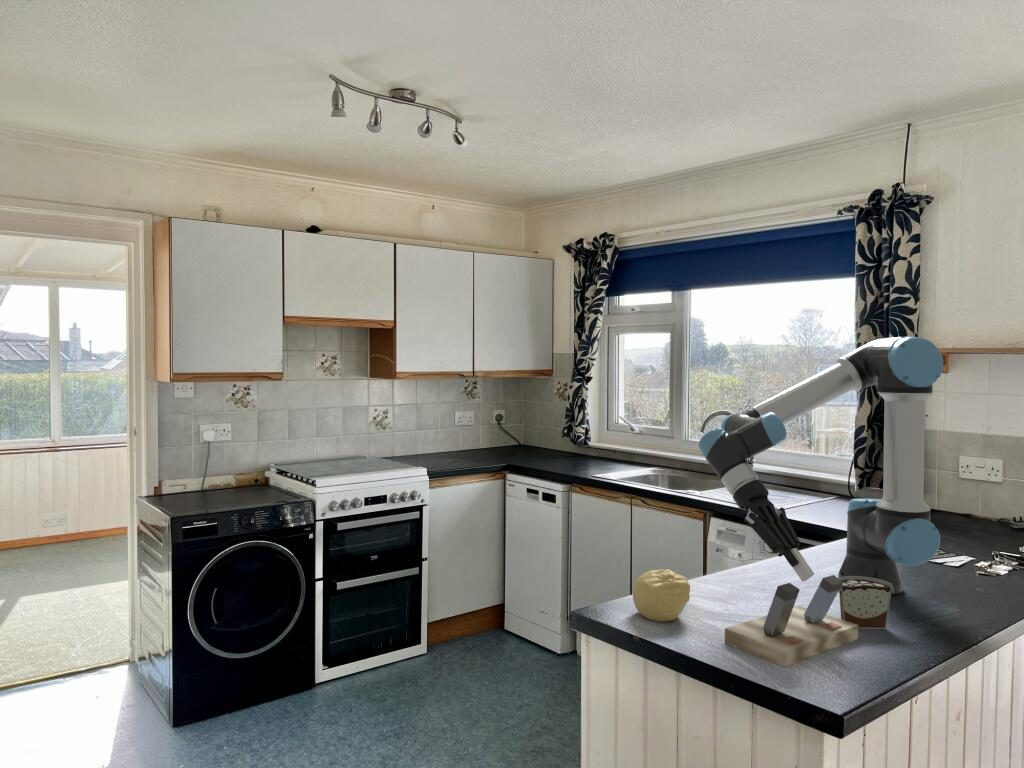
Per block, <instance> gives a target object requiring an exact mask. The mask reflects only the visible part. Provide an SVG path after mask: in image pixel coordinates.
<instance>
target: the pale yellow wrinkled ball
mask: <svg viewBox="0 0 1024 768" xmlns="http://www.w3.org/2000/svg"><path fill="white" fill-rule="evenodd" d="M690 592H691V585H690V583H689V580H688V579H687V578H686V577H685V576H684V575H680V574H679V573H677V572H674V571H673V570H671V569H669V568H667V569H653V570H649V571H646V572H644V573H643V574H641V575H640V576H639V577H638V578H637V579H636V581H635V583H634V586H633V590H632V600H633V604H634V606H635V608H636V611H637V612H638V613H639V614H640V615H641V616H643V617H645V618H647V619H649V620H652V621H655V622H671V621H674V620H676V619H677V618H678V617H679V616H680V615H681V613H682V612H683V611H684V608H685V607H686V605H687V603H688V602H689V601H690Z"/></svg>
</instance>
